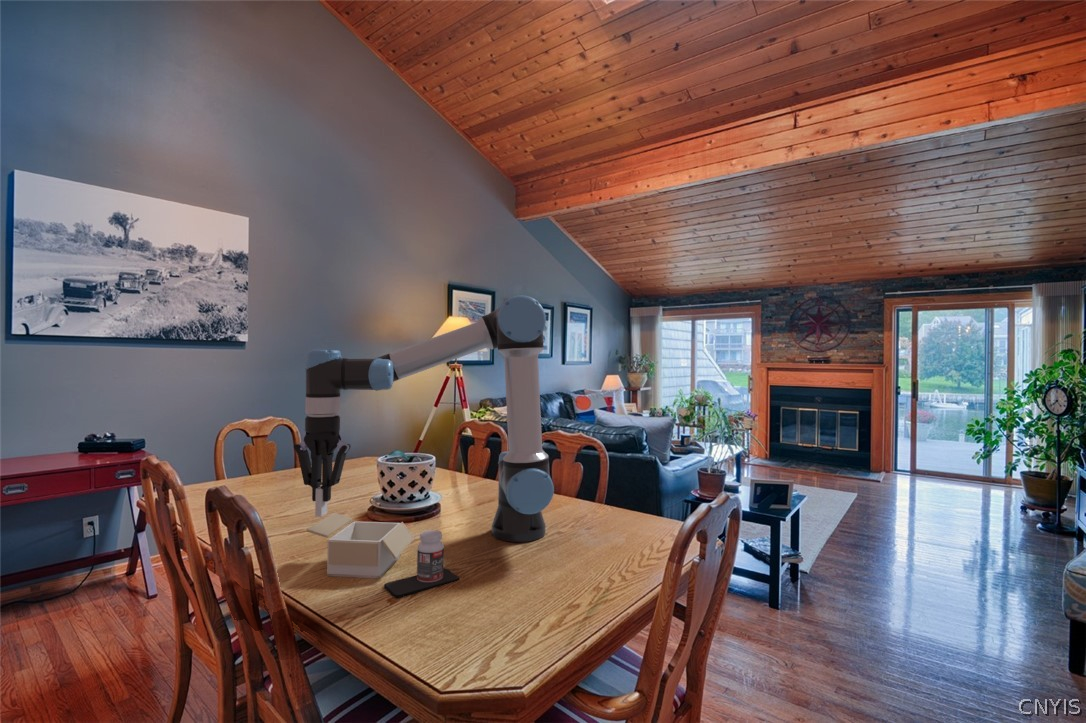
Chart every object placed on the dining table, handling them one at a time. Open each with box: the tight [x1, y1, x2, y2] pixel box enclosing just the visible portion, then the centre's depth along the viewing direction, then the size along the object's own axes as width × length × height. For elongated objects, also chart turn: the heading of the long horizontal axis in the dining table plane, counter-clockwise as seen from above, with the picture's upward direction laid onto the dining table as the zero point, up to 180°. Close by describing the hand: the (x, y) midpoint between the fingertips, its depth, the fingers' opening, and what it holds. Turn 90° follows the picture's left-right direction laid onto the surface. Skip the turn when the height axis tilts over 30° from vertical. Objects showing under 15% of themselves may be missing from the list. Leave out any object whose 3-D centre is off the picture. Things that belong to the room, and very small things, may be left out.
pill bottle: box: [416, 529, 445, 582], centre depth 108 cm, size 6×6×10 cm
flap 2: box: [381, 521, 415, 559], centre depth 114 cm, size 1×12×5 cm
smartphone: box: [383, 568, 460, 599], centre depth 106 cm, size 7×1×15 cm
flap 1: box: [305, 512, 353, 539], centre depth 116 cm, size 1×12×5 cm
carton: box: [326, 520, 402, 579], centre depth 115 cm, size 12×14×8 cm
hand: (321, 514), depth 116 cm, fingers closed
